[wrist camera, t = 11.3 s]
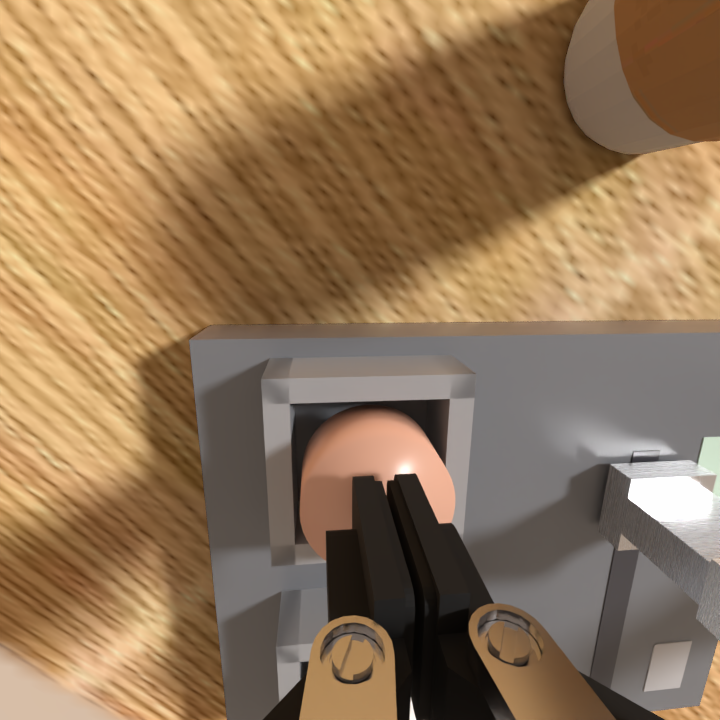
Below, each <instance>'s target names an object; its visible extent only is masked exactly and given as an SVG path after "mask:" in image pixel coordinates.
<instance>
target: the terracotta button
mask: <svg viewBox="0 0 720 720" xmlns="http://www.w3.org/2000/svg"><path fill="white" fill-rule="evenodd" d="M413 473H415V474H416V475H417V477H418V479H419V481H420V483H421V485H422V487H423V490H424V492H425V494H426V496H427V498H428V501H429V503H430V505H431V507H432V509H433V512H434V514H435V516H436V518H437V520H438V523H439V524H440V523H451V522H452V519H453V515H454V510H455V490H454V485H453V482H452V479H451V477H450V474H449V472H448V470H447V469H446V467H445V465H444V464H443V462H442V460H441V459H440V457H439V455H438V454H437V452H436V451H435V449H434V447H433V446H432V444H431V442H430V441H429V439H428V437H427V436H426V434H425V433H424V431H423V430H422V428H421V427H420V426H419V425H418V424H417V422H416V421H414V420H413V419H412V418H411V417H410V416H408V415H406V414H405V413H403V412H401V411H399V410H397V409H394V408H391V407H387V406H382V405H360V406H355V407H351V408H348V409H345V410H343V411H341V412H339V413H337V414H335V415H333V416H332V417H330V418H329V419H327V420H326V421H325V422H324V423H323V424H322V425H321V426H320V427H319V428H318V429H317V430H316V431H315V432H314V434H313V435H312V437H311V438H310V440H309V442H308V444H307V446H306V449H305V452H304V457H303V463H302V479H301V496H300V522H301V526H302V530H303V533H304V535H305V537H306V540H307V541H308V543H309V544H310V546H311V547H312V549H313V550H314V551H315V552H316V553H317V554H318V555H319V556H320V557H321V558H322V559H323V560H325V561H326V531H329V530H345V529H352V478H353V476H372V475H373V476H374V479H375V481H382V483H383V486H384V490H385V493H386V491H387V481H388V480H394V475H395V474H413Z"/></svg>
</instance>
